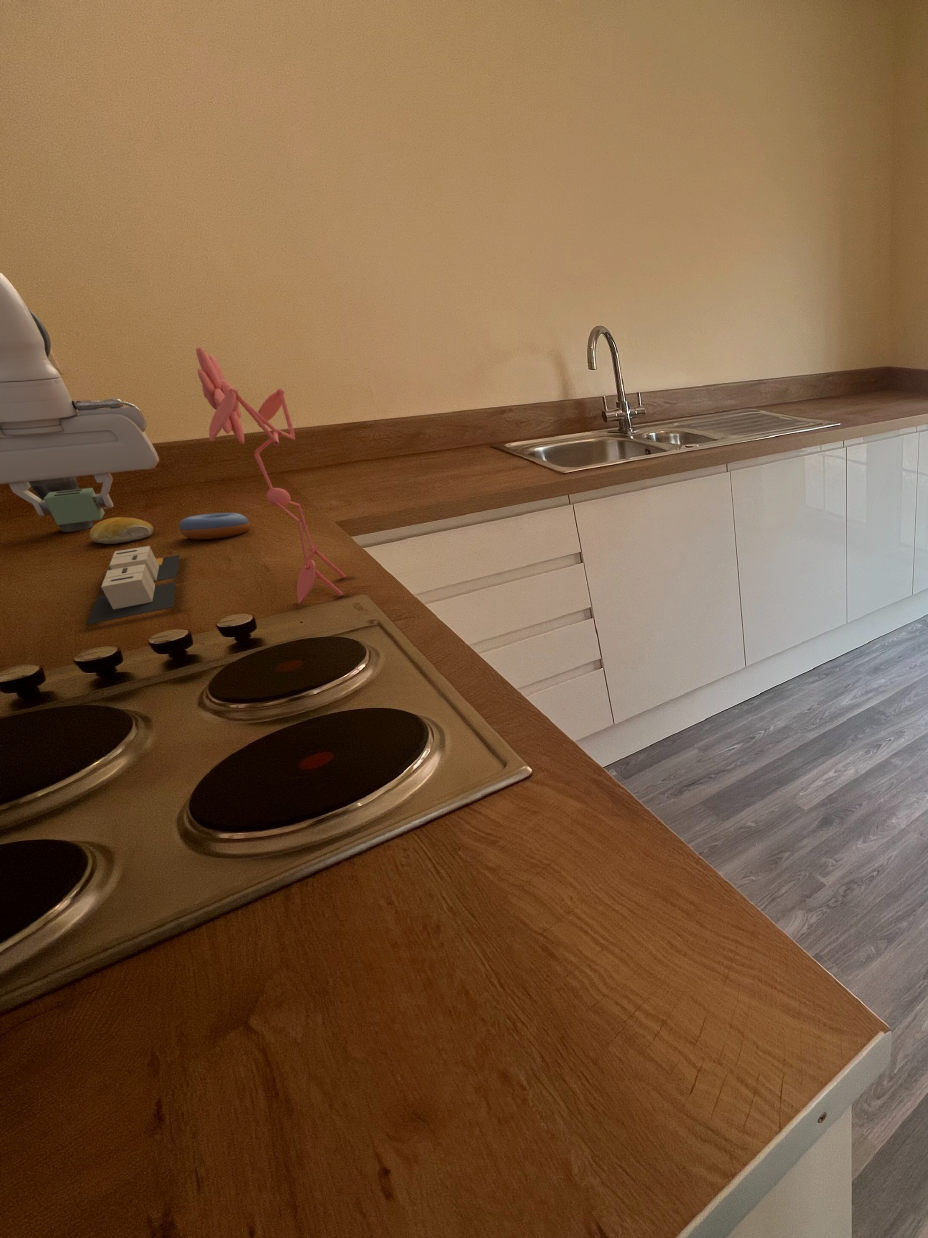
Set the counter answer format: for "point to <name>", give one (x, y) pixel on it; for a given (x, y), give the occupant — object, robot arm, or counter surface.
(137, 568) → the white slotted cube
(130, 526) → the bread roll
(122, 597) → the white slotted box
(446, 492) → the counter surface
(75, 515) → the slotted green block
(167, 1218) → the counter surface
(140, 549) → the off-white marked cube
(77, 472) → the robot arm
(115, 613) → the mats
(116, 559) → the slotted cream cube
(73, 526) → the beverage cup
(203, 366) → the figurine
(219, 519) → the doughnut
